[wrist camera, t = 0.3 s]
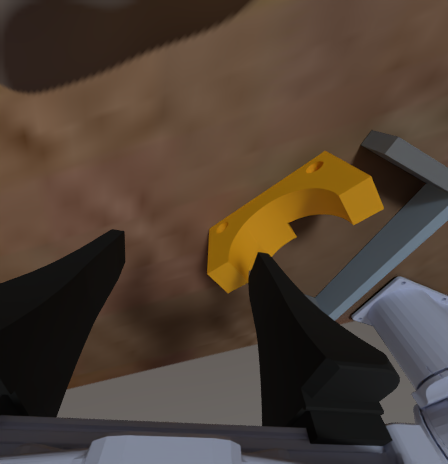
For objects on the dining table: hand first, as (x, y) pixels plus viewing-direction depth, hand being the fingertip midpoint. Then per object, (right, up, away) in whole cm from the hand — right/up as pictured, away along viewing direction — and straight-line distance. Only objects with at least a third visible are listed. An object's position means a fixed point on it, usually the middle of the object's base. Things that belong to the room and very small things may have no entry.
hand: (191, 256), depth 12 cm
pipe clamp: (+6, +4, +9) cm, 11 cm away
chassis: (+13, +1, +10) cm, 17 cm away
